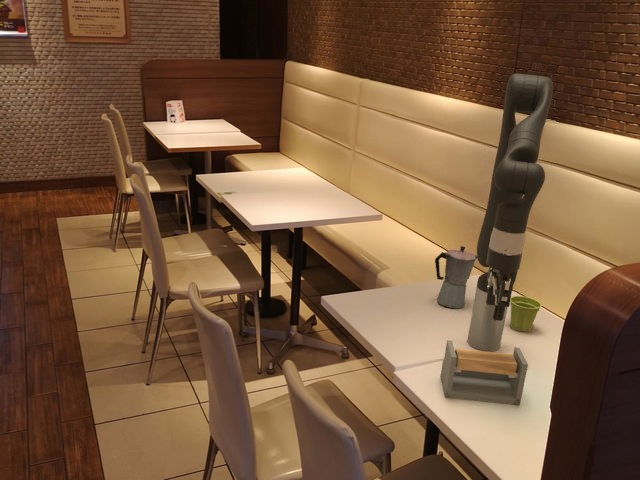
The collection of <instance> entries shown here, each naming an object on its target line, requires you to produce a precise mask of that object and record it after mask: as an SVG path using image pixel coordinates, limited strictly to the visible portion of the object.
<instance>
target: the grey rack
mask: <svg viewBox="0 0 640 480" xmlns="http://www.w3.org/2000/svg"><path fill="white" fill-rule="evenodd" d="M512 354H513V356H514V359H515V361H516V363H517V368H516V373H515V375H507V374H497V373H487V372H478V371H468V370H458V369H456V360H457V356H456V353H455V348H454V343H453V340H446V345H445V350H444V356H443V359H442V364H441V372H440V375H439V376H440V377H439V378H440V381H441V386H442V391H443V395H444V398H449V399H460V400H469V401H479V402H485V403H486V402H489V403H496V404H498V403H499V404H506V405H515V406H516V405H517V406H520V404H521V402H522V401H521V400H522V395H523V392H524V391H523V390H524V387H525V382H526V377H527V373H528V367H529V363H528V362H527V360H526V358H525V356H524V354H523V352H522V350H521V348H520V347H514V350H513V353H512Z"/></svg>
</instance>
